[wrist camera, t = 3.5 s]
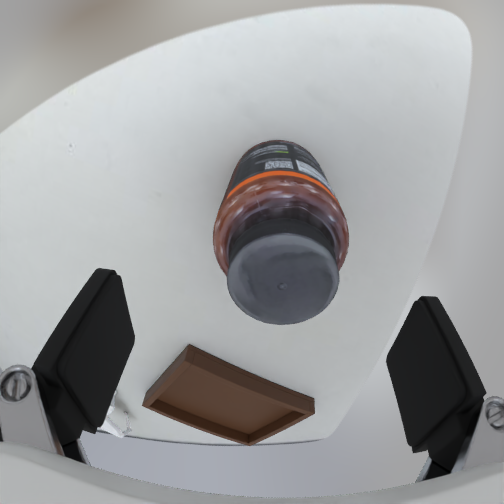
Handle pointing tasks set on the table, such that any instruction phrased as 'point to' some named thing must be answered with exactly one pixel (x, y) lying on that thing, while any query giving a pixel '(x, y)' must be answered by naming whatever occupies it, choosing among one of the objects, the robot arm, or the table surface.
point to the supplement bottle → (280, 235)
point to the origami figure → (111, 426)
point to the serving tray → (225, 399)
